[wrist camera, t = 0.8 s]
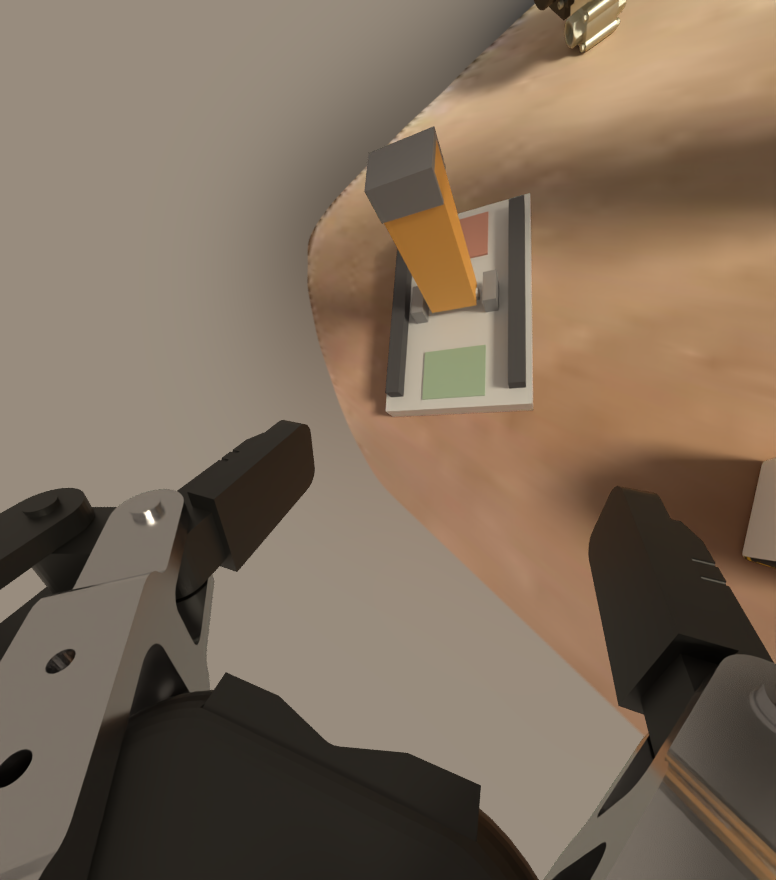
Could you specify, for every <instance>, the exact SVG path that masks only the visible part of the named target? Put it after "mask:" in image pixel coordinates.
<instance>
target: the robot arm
mask: <svg viewBox="0 0 776 880" xmlns="http://www.w3.org/2000/svg"><path fill="white" fill-rule="evenodd" d="M314 471H315V467H314V458H313V449H312V441H311V432H310V429H309V427H308V425H305V424H301V423H295V422H291V421H285V420H281V421H279V422H278V423H277V424H275V425H274V426H272V427H271V428H270V429H269V430H267V431H266V432H265V433H262V434H259V435H257V436H255V437H252V438H250V439H247V440H245V441H244V442H243V443H241V444H240V445H239V446H237V447H236V448H235V449H233V452H229V453H228V454H226V455H225V456H224V457H222V460H218V461H217V462H216V463H214V464H213V465H212V466H210V467H209V468H208V469H206V470H205V471H203V472H202V473H201V474H200V475H198V476H197V477H195V478H194V479H193V480H191V481H190V482H189V483H188V484H186V485H185V486H183V487H182V488H180V489H179V490H178V491H174V490H169V489H159V490H153V491H148V492H145V493H142V494H139V495H136V496H135V497H132V498H130V499H128V500H127V501H125V502H123V503H122V504H121V505H119V506H118V507H91V505H90V503H89V501H88V500H87V498H86V496H85V495H84V493H83V492H82V491H81V490H79V489H75V488H61V489H55V490H50V491H46V492H44V493H40V494H38V495H35V496H32V497H30V498H28V499H26V500H24V501H22V502H20V503H18V504H16V505H15V506H13V507H11V508H9V509H7V510H6V511H4V512H2V513H0V589H2V588H3V587H5V586H6V585H8V584H9V583H10V582H12V581H13V580H15V579H16V578H17V577H19V576H20V575H21V574H23V573H24V572H26V571H27V570H29V569H30V568H31V567H32V568H33V570H34V571H35V572H36V573H37V575H38V576H39V577H40V578H41V580H42V581H43V582H44V583H45V585H46V586H47V587H46V588H45V589H43V590H42V591H41V592H40V593H38V594H37V595H36V596H35V597H33V598H32V599H31V600H29V601H28V602H27V603H26V604H24V605H23V606H22V607H20V608H19V609H18V610H17V611H16V612H14V613H13V614H12V615H10V616H9V617H8V618H6V619H5V620H4V621H3V622H2V623H0V880H539V879H538V878H537V876H536V875H535V873H534V871H533V870H532V868H531V867H530V865H529V864H528V862H527V861H526V859H525V858H524V857H523V856H522V854H521V853H520V851H519V850H518V849H517V848H516V846H515V845H514V844H513V842H512V841H511V840H510V839H509V837H508V836H507V835H506V834H505V833H504V832H503V831H502V830H501V829H500V828H499V826H497V824H496V823H495V822H494V821H493V820H492V819H491V818H490V817H489V816H487V815H486V814H485V813H484V812H483V811H482V810H481V809H479V803H480V790H481V786H480V785H479V784H476V783H474V782H472V781H469V780H467V779H465V778H463V777H460V776H458V775H456V774H454V773H452V772H449V771H447V770H445V769H442V768H440V767H438V766H436V765H433V764H431V763H429V762H427V761H424V760H422V759H420V758H418V757H415V756H413V755H411V754H408V753H401V752H391V751H381V750H370V749H359V748H349V747H339V746H334V745H332V744H330V743H328V742H327V741H326V740H324V739H323V738H322V737H321V736H320V735H319V734H318V733H317V732H316V731H315V730H314V729H313V728H312V727H311V726H310V725H309V724H308V723H306V722H305V721H304V719H302V718H301V717H300V716H299V715H298V714H297V713H296V712H295V711H294V710H293V709H292V708H291V707H290V706H289V705H288V704H287V703H286V702H284V700H283V699H282V698H281V697H279V696H278V695H276V694H273V693H271V692H269V691H266V690H264V689H262V688H260V687H258V686H255V685H253V684H251V683H249V682H246V681H244V680H242V679H240V678H237V677H235V676H232V675H231V674H228V673H225V674H224V676H223V677H222V679H221V680H220V682H219V683H218V685H217V686H216V688H215V689H214V690H210V682H209V673H208V668H207V655H206V653H207V642H208V634H209V625H210V616H211V607H212V598H213V589H214V578H213V575H212V574H213V573H214V572H215V571H216V569H217V568H218V567H219V566H222V567H224V568H228V569H230V570H233V571H236V572H237V571H238V570H239V569H240V568H241V566H243V564H244V563H245V562H246V561H247V559H248V558H249V557H250V556H251V555H252V554H253V553H254V551H255V550H256V549H257V548H258V547H259V546H260V544H261V543H262V542H263V541H264V539H266V537H267V536H268V535H269V534H270V533H271V532H272V530H273V529H274V528H275V527H276V526H277V524H278V523H279V522H280V521H281V520H282V518H283V517H284V516H285V515H286V514H287V513H288V511H289V510H290V509H291V508H292V507H293V506H294V504H295V503H296V502H297V501H298V500H299V499H300V497H301V496H302V495H303V494H304V493H305V492H306V490H307V489H308V488H309V486H310V485H311V483H312V480H313V477H314ZM589 562H590V567H591V572H592V577H593V582H594V586H595V591H596V596H597V601H598V606H599V611H600V616H601V621H602V626H603V631H604V636H605V641H606V646H607V651H608V656H609V661H610V665H611V670H612V675H613V680H614V685H615V690H616V695H617V700H618V705H619V706H621V707H624V708H627V709H630V710H632V711H635V712H638V713H641V714H644V716H645V720H646V724H647V728H648V732H649V733H648V734H647V735H646V736H645V737H644V738H643V739H642V740H641V742H640V743H639V745H638V746H637V748H636V749H635V751H634V752H633V754H632V755H631V757H630V758H629V760H628V761H627V763H626V764H625V766H624V767H623V769H622V770H621V772H620V773H619V775H618V776H617V778H616V779H615V781H614V782H613V784H612V786H611V787H610V788H609V790H608V791H607V793H606V794H605V796H604V798H603V799H602V800H601V802H600V804H599V805H598V806H597V808H596V809H595V811H594V812H593V814H592V816H591V817H590V818H589V820H588V821H587V822H586V824H585V825H584V826H583V828H582V829H581V830H580V831H579V833H578V834H577V835H576V836H575V837H574V838H573V840H572V841H571V842H570V843H569V844H568V846H567V847H566V848H565V850H564V851H563V852H562V854H561V855H560V856H559V858H558V859H557V861H556V862H555V863H554V865H553V866H552V868H551V869H550V871H549V872H548V874H547V875H546V877H545V878H544V880H776V664H774V662H773V660H772V659H771V657H770V655H769V654H768V652H767V650H766V648H765V647H764V645H763V643H762V642H761V640H760V638H759V637H758V635H757V633H756V631H755V630H754V628H753V626H752V625H751V623H750V621H749V619H748V618H747V616H746V614H745V613H744V611H743V609H742V608H741V606H740V604H739V602H738V601H737V599H736V597H735V596H734V594H733V592H732V590H731V589H730V587H729V586H726V580H725V579H724V577H723V575H722V573H721V572H720V570H719V568H718V567H715V561H714V560H713V558H712V556H711V555H710V553H709V551H708V550H707V548H706V546H705V544H704V543H703V541H702V540H701V539H699V538H698V537H697V536H696V535H695V534H694V533H693V532H692V531H691V530H690V529H689V528H688V527H686V526H685V525H684V524H683V523H682V522H681V521H676V520H671V518H670V516H669V515H668V513H667V511H666V509H665V507H664V505H663V503H662V501H661V499H660V497H659V496H658V495H657V494H655V493H650V492H645V491H640V490H635V489H630V488H625V487H620V486H617V487H615V488H614V489H613V490H612V491H611V493H610V495H609V497H608V499H607V502H606V504H605V506H604V508H603V510H602V512H601V515H600V517H599V519H598V521H597V523H596V525H595V527H594V530H593V532H592V534H591V537H590V542H589Z"/></svg>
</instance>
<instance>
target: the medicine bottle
mask: <svg viewBox="0 0 776 880" xmlns="http://www.w3.org/2000/svg"><path fill="white" fill-rule="evenodd" d="M742 555H743V557H744V558H745V559H747V560H749V561H752V562H755V563H759V564H762V565H765V566H769V567H772V568H776V458H773V459H769V460H766V461H764V462H763V463H762V466H761V470H760V475H759V479H758V484H757V488H756V493H755V498H754V502H753V507H752V511H751V516H750V520H749V525H748V529H747V534H746V539H745V543H744V548H743V552H742Z"/></svg>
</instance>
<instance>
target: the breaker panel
mask: <svg viewBox="0 0 776 880" xmlns="http://www.w3.org/2000/svg"><path fill="white" fill-rule="evenodd" d="M521 196H522V195H521ZM517 197H518V196H517ZM514 198H515V197H514ZM510 199H511V198H510ZM524 201H525V299H526V387H525V388H512V389H509V386H508V229H509V199H507V200H504V201H500V202H497V203H493V204H490V205H486V206H483V207H480V208H476V209H473V210H469V211H466V212H462V213H459V214H458V217H459V221H460V224H461V228H462V231H463V235H464V238H465V242H466V246H467V249H468V253H469V256H470V260H471V263H472V267H473V270H474V274H475V277H476V281H477V287H479V290H480V300H479V301H477V305H475V306H470V307H464V308H458V309H452V310H447V311H441V312H435V313H432V312H431V310H430V308H429V306H428V304H427V303H426V301H425V299H424V297H423V295H422V293H421V291H420V289H419V288H418V286H417V284H416V282H415V280H414V278H413V276H412V284H411V298H410V312H409V326H408V341H407V355H406V369H405V383H404V397H390V396H389V395H387V399H386V412H387V413H388V414H390V415H391V416H393V417H402V416H423V415H444V414H465V413H485V412H506V411H527V410H533V351H532V261H531V200H530V193H528V194H524Z"/></svg>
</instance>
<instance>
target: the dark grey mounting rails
mask: <svg viewBox="0 0 776 880" xmlns="http://www.w3.org/2000/svg"><path fill="white" fill-rule="evenodd" d="M411 284H412V275H411V273H410V271H409V269H408V267H407V265H406V263H405V261H404V260H403V258H402V256H401V254H400V252H399V250H398V248H397V258H396V270H395V282H394V295H393V307H392V319H391V331H390V343H389V355H388V367H387V380H386V392H385V393H386V394H387V395H389V396H390V397H404V383H405V369H406V355H407V341H408V326H409V312H410V298H411ZM508 386H509V389H512V388H525V387H526V299H525V201H524V195H522V196H518V197H515V198H511V199H509V229H508Z"/></svg>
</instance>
